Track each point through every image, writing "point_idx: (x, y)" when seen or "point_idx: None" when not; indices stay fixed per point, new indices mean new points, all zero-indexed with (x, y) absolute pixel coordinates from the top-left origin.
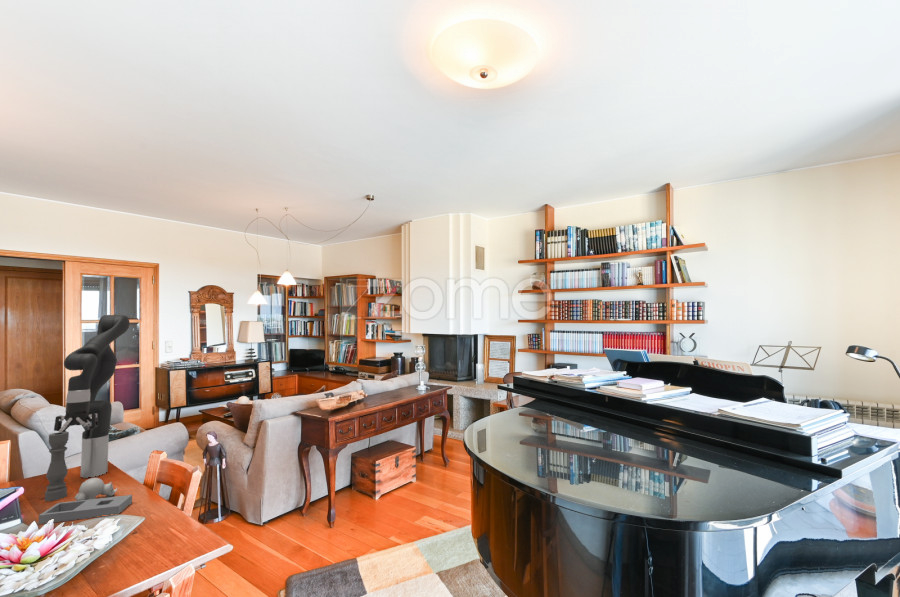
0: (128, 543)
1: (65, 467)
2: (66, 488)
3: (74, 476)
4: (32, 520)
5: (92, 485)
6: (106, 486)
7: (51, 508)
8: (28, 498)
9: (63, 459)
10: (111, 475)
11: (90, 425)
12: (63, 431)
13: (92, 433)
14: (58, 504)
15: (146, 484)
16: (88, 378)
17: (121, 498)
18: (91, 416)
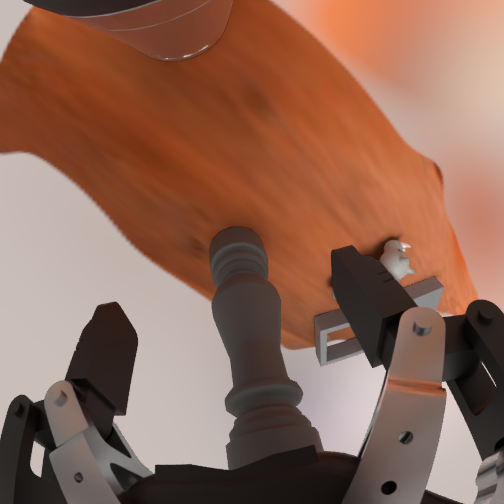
0: None
1: (280, 317)
2: (265, 255)
3: (104, 44)
4: (291, 345)
5: None
6: (401, 277)
7: (324, 349)
8: (142, 249)
9: (280, 350)
10: (273, 35)
11: (432, 367)
12: (113, 415)
13: None
14: (326, 336)
15: (439, 169)
16: None
17: (430, 302)
18: (496, 492)
